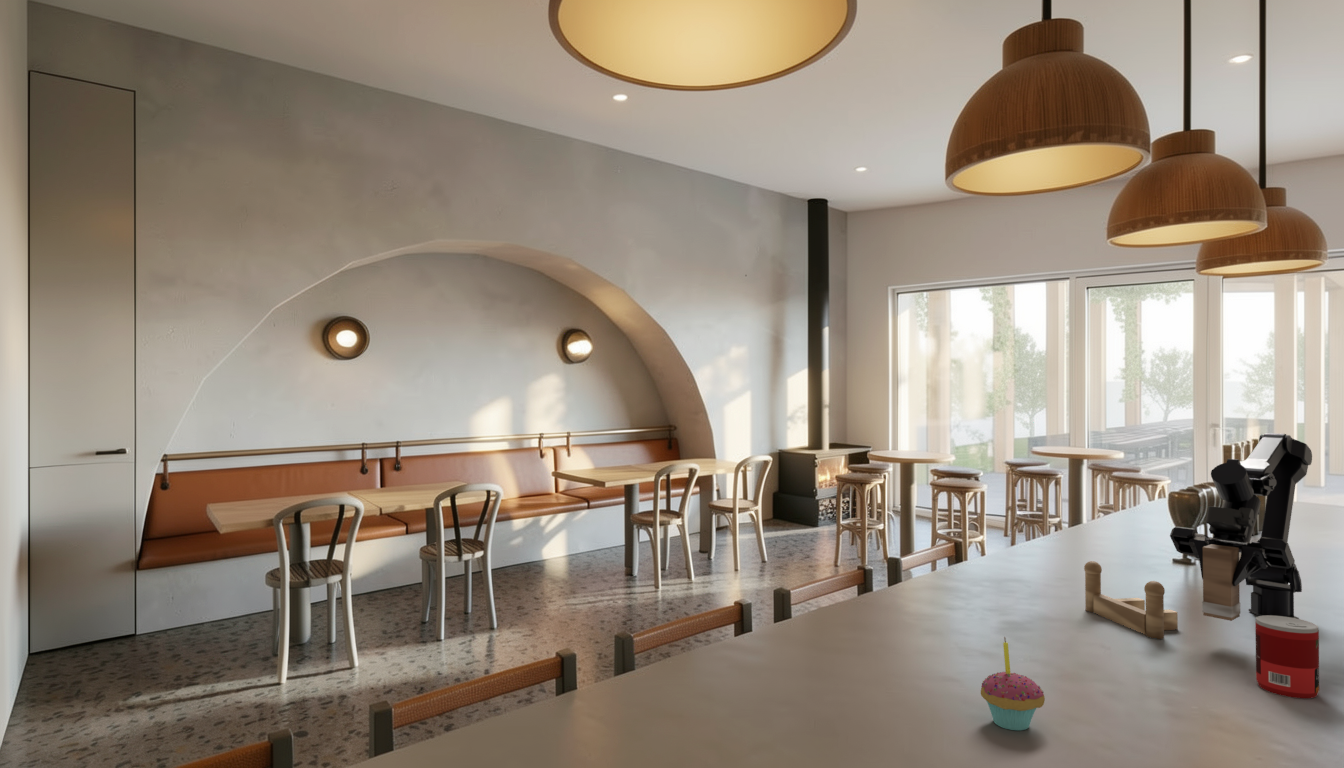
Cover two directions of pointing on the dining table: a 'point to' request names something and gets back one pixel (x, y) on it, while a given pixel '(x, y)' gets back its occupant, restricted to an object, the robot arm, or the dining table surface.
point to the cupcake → (1011, 697)
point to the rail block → (1220, 582)
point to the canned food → (1287, 656)
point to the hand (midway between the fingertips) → (1218, 582)
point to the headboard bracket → (1130, 606)
